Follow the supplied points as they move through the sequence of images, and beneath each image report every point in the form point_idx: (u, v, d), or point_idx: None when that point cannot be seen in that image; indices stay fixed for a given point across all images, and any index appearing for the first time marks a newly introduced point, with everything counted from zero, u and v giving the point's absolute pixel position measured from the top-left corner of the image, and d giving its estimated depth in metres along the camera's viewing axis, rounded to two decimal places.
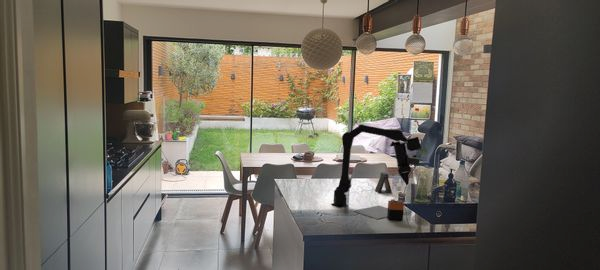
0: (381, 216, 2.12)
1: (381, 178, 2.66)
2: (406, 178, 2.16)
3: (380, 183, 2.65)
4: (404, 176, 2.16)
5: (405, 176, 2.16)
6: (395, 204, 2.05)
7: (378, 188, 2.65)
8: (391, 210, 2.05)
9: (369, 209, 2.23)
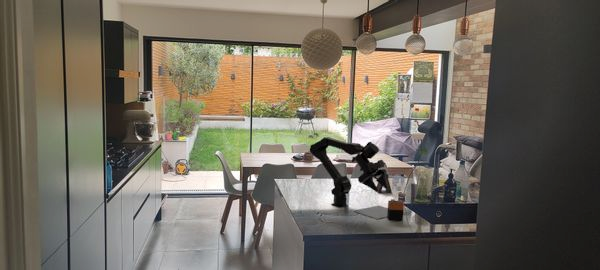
0: (381, 216, 2.12)
1: None
2: (372, 185, 2.09)
3: None
4: (369, 184, 2.10)
5: (370, 183, 2.10)
6: (395, 204, 2.05)
7: (378, 188, 2.65)
8: (391, 210, 2.05)
9: (369, 209, 2.23)
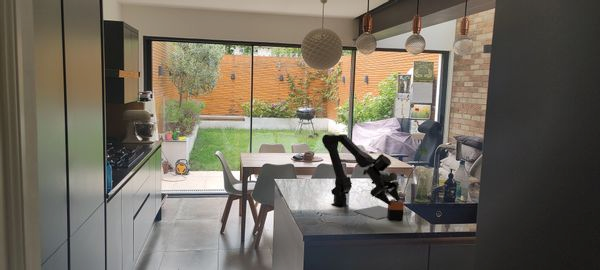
0: (381, 216, 2.12)
1: None
2: (385, 199, 2.05)
3: None
4: (382, 197, 2.05)
5: (383, 197, 2.05)
6: (395, 204, 2.05)
7: None
8: (391, 210, 2.05)
9: (369, 209, 2.23)
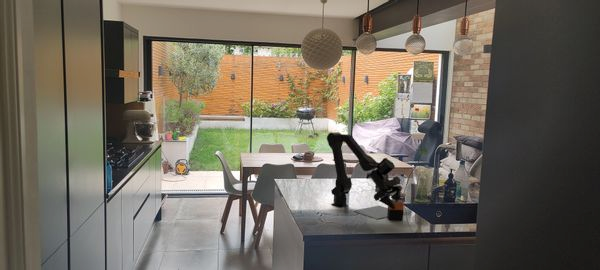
0: (381, 216, 2.12)
1: None
2: (389, 203, 2.04)
3: None
4: (386, 201, 2.05)
5: (387, 201, 2.05)
6: (395, 204, 2.05)
7: None
8: (391, 210, 2.05)
9: (369, 209, 2.23)
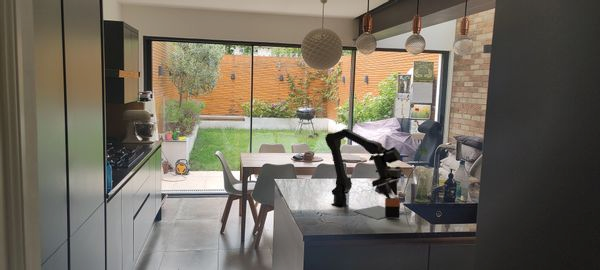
0: (381, 216, 2.12)
1: None
2: (385, 191, 2.08)
3: None
4: (383, 189, 2.09)
5: (384, 189, 2.09)
6: (390, 201, 2.08)
7: None
8: (386, 207, 2.08)
9: (369, 209, 2.23)
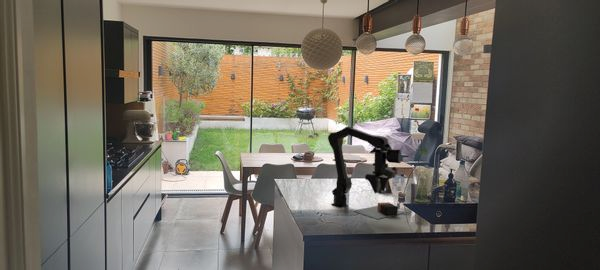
0: (381, 216, 2.12)
1: None
2: (375, 187, 2.15)
3: None
4: (373, 184, 2.15)
5: (374, 184, 2.15)
6: None
7: (378, 188, 2.65)
8: (382, 204, 2.18)
9: (369, 209, 2.23)
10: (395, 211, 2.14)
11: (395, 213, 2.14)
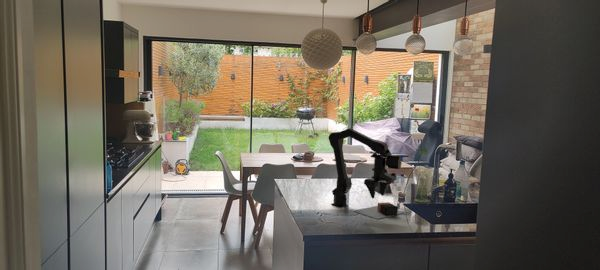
0: (381, 216, 2.12)
1: None
2: (372, 192, 2.15)
3: None
4: (371, 189, 2.15)
5: (371, 190, 2.15)
6: None
7: (378, 188, 2.65)
8: (382, 204, 2.18)
9: (369, 209, 2.23)
10: (395, 211, 2.14)
11: (395, 213, 2.14)
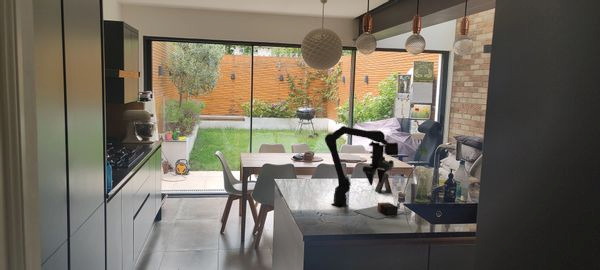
0: (381, 216, 2.12)
1: None
2: (370, 179, 2.22)
3: (380, 183, 2.65)
4: (369, 176, 2.23)
5: (370, 176, 2.23)
6: None
7: (378, 188, 2.65)
8: (382, 204, 2.18)
9: (369, 209, 2.23)
10: (395, 211, 2.14)
11: (395, 213, 2.14)
